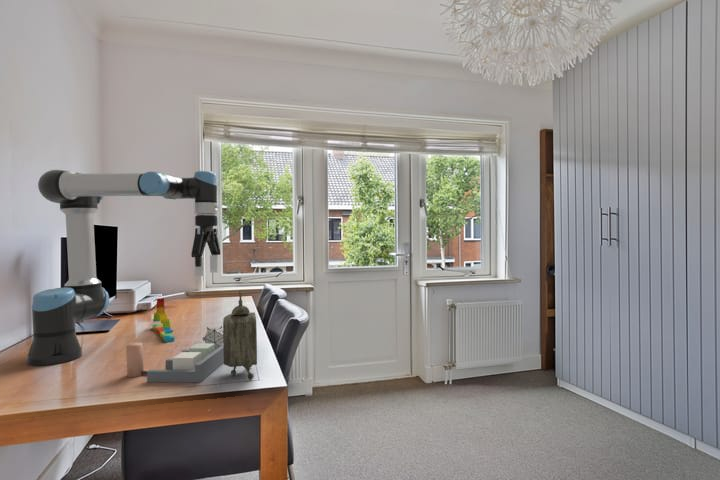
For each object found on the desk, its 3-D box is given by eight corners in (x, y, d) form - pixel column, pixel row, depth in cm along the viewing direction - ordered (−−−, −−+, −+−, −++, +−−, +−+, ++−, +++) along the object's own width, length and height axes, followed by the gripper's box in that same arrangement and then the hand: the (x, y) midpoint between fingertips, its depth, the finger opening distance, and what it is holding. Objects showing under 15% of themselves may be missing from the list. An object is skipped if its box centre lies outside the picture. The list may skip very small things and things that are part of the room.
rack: (147, 381, 121) (146, 364, 121) (183, 358, 143) (183, 343, 143) (200, 382, 120) (200, 364, 120) (229, 358, 142) (228, 343, 142)
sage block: (189, 367, 134) (188, 348, 134) (197, 361, 140) (197, 343, 140) (207, 367, 134) (207, 348, 133) (215, 361, 140) (214, 343, 139)
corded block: (122, 378, 124) (121, 347, 124) (134, 371, 130) (133, 342, 130) (193, 378, 123) (192, 347, 123) (201, 371, 129) (201, 342, 129)
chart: (175, 341, 167) (174, 303, 166) (166, 343, 165) (165, 304, 164) (160, 327, 191) (159, 294, 191) (152, 328, 190) (151, 295, 189)
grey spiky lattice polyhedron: (217, 360, 153) (217, 342, 147) (197, 350, 155) (196, 332, 149) (232, 342, 160) (232, 325, 154) (212, 334, 162) (212, 316, 156)
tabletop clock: (257, 380, 121) (255, 293, 120) (223, 384, 118) (222, 294, 118) (254, 365, 134) (253, 286, 134) (225, 368, 132) (223, 288, 131)
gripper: (202, 213, 140) (203, 277, 140) (228, 216, 165) (229, 270, 165) (180, 213, 140) (181, 278, 140) (209, 216, 165) (210, 270, 165)
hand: (207, 274), depth 153 cm, fingers open, 13 cm apart
